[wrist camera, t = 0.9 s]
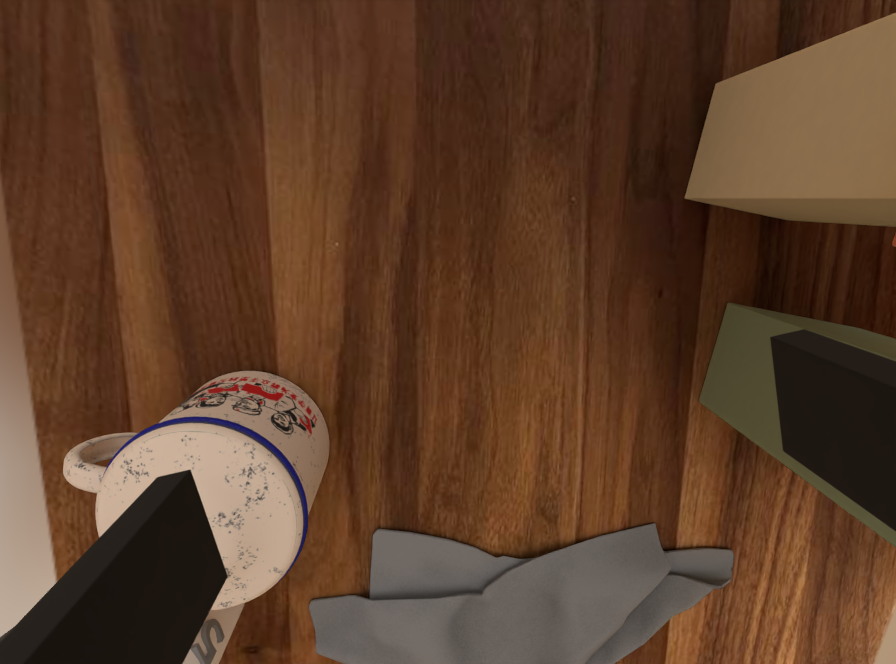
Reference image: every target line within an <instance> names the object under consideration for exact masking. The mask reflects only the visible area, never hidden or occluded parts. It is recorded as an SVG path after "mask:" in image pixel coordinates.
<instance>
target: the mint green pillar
mask: <svg viewBox="0 0 896 664" xmlns="http://www.w3.org/2000/svg"><path fill="white" fill-rule="evenodd" d="M803 329H805V330H808V331H811V332H814V333H817V334H820V335H822V336H825V337H828V338H831V339H834V340H837V341H840V342H842V343H845V344H848V345H851V346H854V347H857V348H859V349H862V350H865V351H868V352H871V353H874V354H876V355H879V356H882V357H885V358H888V359H891V360H893V361H896V339H894V338H891V337H887V336H884V335H881V334H877V333H874V332H870V331H867V330H864V329H860V328H856V327H851V326H846V325H841V324H836V323H831V322H826V321H821V320H816V319H811V318H806V317H801V316H796V315H790V314H785V313H780V312H775V311H770V310H765V309H760V308H755V307H750V306H745V305H740V304H735V303H730V302H729V303H727V307H726V310H725V313H724V317H723V320H722V323H721V327H720V330H719V334H718V337H717V340H716V344H715V347H714V351H713V354H712V357H711V361H710V364H709V367H708V371H707V374H706V378H705V381H704V384H703V388H702V391H701V394H700V398H699V402H700V403H701V404H702V405H704V406H705V407H707V408H708V409H709V410H711V411H712V412H713V413H715V414H716V415H717V416H719V417H720V418H721V419H723V420H724V421H725V422H727V423H728V424H730V425H731V426H732V427H734V428H735V429H736V430H738V431H739V432H740V433H742V434H743V435H744V436H746V437H747V438H748V439H750V440H751V441H753V442H754V443H755V444H757V445H758V446H759V447H761V448H762V449H763V450H765V451H766V452H767V453H769V454H770V455H771V456H773V457H774V458H776V459H777V460H778V461H780V462H781V463H782V464H784V465H785V466H786V467H788V468H789V469H790V470H792V471H793V472H794V473H796V474H797V475H799V476H800V477H801V478H803V479H804V480H805V481H807V482H808V483H809V484H811V485H812V486H813V487H815V488H816V489H818V490H819V491H820V492H822V493H823V494H824V495H826V496H827V497H828V498H830V499H831V500H832V501H834V502H835V503H836V504H838V505H839V506H841V507H842V508H843V509H845V510H846V511H847V512H849V513H850V514H851V515H853V516H854V517H855V518H857V519H858V520H859V521H861V522H862V523H864V524H865V525H866V526H868V527H869V528H870V529H872V530H873V531H874V532H876V533H877V534H878V535H880V536H881V537H882V538H884V539H885V540H887V541H888V542H889V543H891V544H892V545H893V546H895V547H896V531H894V530H893V529H891V528H890V527H889V526H887V525H886V524H884V523H883V522H882V521H880V520H879V519H877V518H876V517H875V516H873V515H872V514H870V513H869V512H868V511H866V510H865V509H863V508H862V507H861V506H859V505H858V504H856V503H855V502H854V501H852V500H851V499H849V498H848V497H847V496H845V495H844V494H842V493H841V492H840V491H838V490H837V489H835V488H834V487H833V486H831V485H830V484H828V483H827V482H826V481H824V480H823V479H821V478H820V477H819V476H817V475H816V474H814V473H813V472H812V471H810V470H809V469H807V468H806V467H805V466H803V465H802V464H800V463H799V462H798V461H796V460H795V459H793V458H792V457H791V456H789V455H788V454H786V453H785V452H784V451H783V447H782V438H781V429H780V420H779V411H778V402H777V394H776V385H775V376H774V367H773V358H772V349H771V340H770V337H772V336H777V335H781V334H785V333H790V332H794V331H798V330H803Z"/></svg>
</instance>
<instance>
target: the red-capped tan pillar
mask: <svg viewBox="0 0 896 664" xmlns="http://www.w3.org/2000/svg"><path fill="white" fill-rule="evenodd" d="M685 199H689V200H693V201H698V202H703V203H708V204H712V205H717V206H722V207H727V208H731V209H736V210H741V211H746V212H750V213H755V214H760V215H765V216H769V217H774V218H779V219H784V220H791V221H808V222H824V223H841V224H858V225H875V226H891V227H896V13H894V14H891V15H889V16H886V17H884V18H881V19H879V20H876V21H874V22H871V23H869V24H866V25H863V26H861V27H858V28H856V29H853V30H851V31H848V32H846V33H843V34H841V35H838V36H836V37H833V38H830V39H828V40H825V41H823V42H820V43H818V44H815V45H813V46H810V47H808V48H805V49H802V50H800V51H797V52H795V53H792V54H790V55H787V56H785V57H782V58H780V59H777V60H775V61H772V62H769V63H767V64H764V65H762V66H759V67H757V68H754V69H752V70H749V71H747V72H744V73H742V74H739V75H736V76H734V77H731V78H729V79H726V80H724V81H721V82H719V83H716V84H715V88H714V91H713V95H712V99H711V102H710V106H709V110H708V114H707V117H706V121H705V125H704V128H703V132H702V136H701V139H700V143H699V147H698V150H697V154H696V158H695V161H694V165H693V169H692V172H691V176H690V180H689V183H688V187H687V191H686V195H685ZM892 245H893V246H894V247H896V234H895V237H894V240H893V242H892Z"/></svg>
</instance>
